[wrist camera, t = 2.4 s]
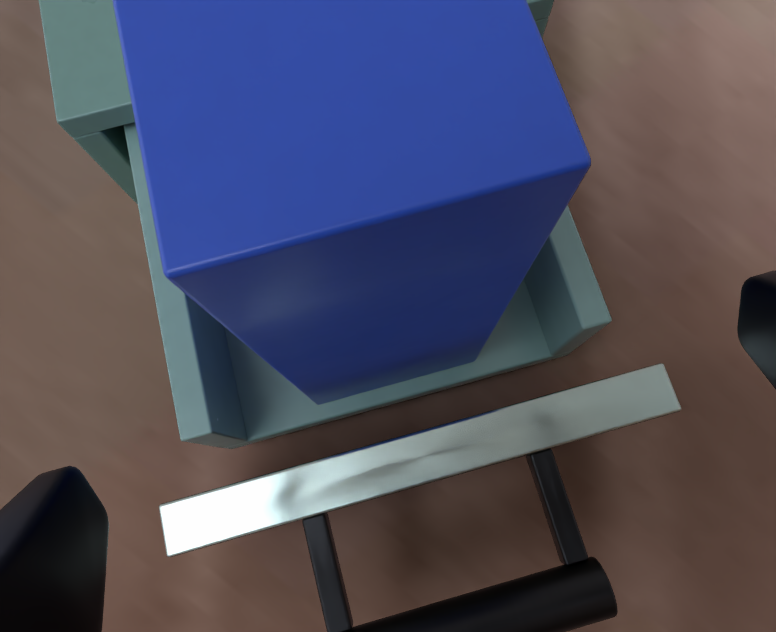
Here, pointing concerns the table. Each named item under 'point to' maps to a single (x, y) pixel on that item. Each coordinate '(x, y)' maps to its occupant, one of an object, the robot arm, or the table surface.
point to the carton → (350, 173)
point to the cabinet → (109, 78)
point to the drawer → (406, 439)
